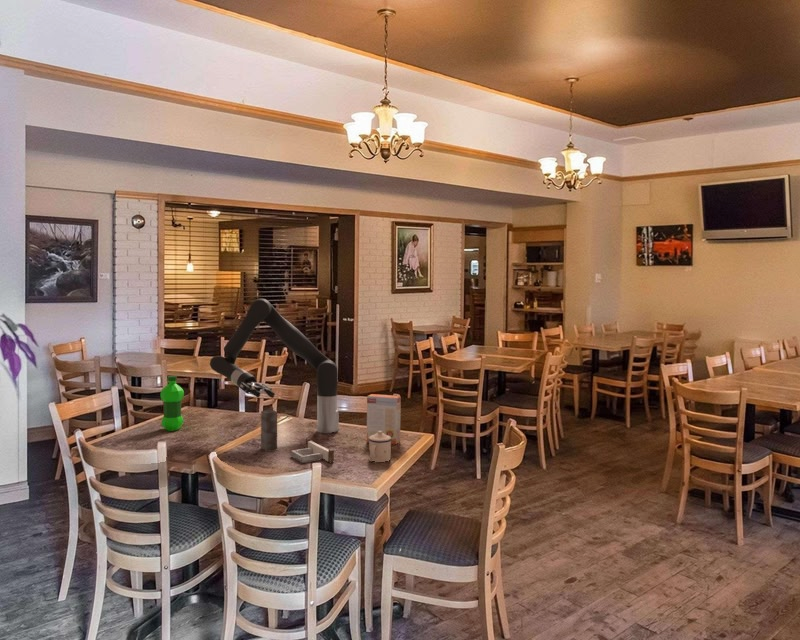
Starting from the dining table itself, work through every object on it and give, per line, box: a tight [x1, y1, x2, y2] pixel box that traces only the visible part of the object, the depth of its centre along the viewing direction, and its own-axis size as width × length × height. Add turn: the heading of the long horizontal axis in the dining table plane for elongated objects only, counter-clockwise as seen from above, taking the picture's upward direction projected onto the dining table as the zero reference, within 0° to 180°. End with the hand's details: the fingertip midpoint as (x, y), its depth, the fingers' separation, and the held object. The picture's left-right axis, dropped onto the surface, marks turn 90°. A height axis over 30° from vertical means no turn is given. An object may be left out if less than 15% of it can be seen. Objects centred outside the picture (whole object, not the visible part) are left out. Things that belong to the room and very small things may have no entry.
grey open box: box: [290, 437, 335, 464], centre depth 248 cm, size 11×21×5 cm, turn 35°
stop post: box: [260, 409, 278, 452], centre depth 260 cm, size 5×5×16 cm
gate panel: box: [308, 440, 330, 462], centre depth 251 cm, size 18×2×4 cm, turn 35°
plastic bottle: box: [159, 375, 185, 432], centre depth 289 cm, size 10×10×25 cm
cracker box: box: [366, 393, 402, 445], centre depth 273 cm, size 14×6×21 cm, turn 71°
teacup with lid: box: [368, 431, 392, 463], centre depth 246 cm, size 12×9×12 cm
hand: (266, 395), depth 267 cm, fingers open, 8 cm apart
